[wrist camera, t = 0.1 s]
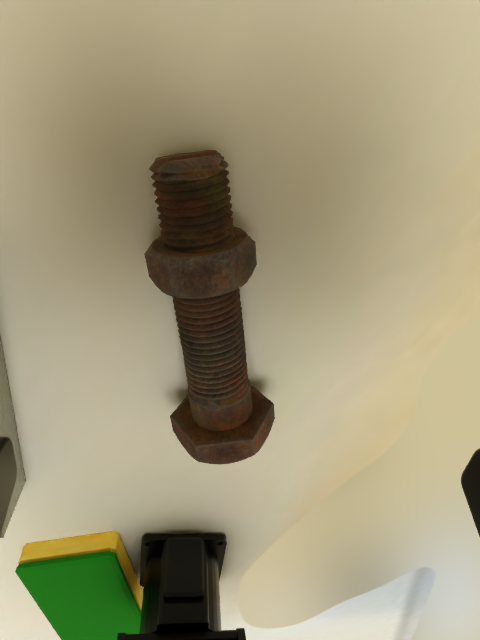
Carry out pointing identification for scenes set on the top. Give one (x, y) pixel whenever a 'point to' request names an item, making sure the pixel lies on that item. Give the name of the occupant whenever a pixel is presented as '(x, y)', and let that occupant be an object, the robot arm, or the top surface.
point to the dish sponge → (83, 586)
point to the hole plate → (4, 425)
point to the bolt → (207, 307)
